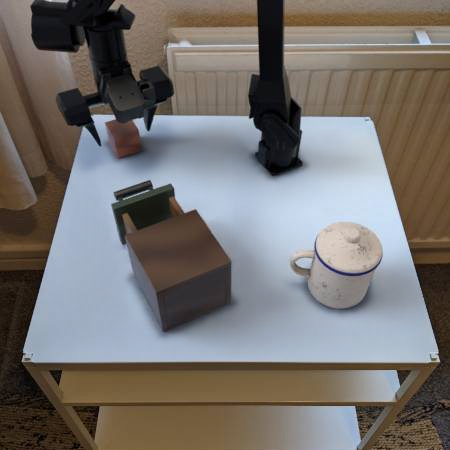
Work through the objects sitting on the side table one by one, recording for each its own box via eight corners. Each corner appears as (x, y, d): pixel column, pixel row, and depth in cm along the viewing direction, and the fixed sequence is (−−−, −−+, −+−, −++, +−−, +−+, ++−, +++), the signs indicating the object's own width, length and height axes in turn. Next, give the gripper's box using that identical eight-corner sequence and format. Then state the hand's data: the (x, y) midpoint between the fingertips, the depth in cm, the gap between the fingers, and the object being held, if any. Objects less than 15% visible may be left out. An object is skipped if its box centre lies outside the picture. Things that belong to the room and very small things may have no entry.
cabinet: (134, 278, 75) (124, 235, 67) (198, 253, 78) (195, 208, 70) (163, 332, 70) (155, 292, 62) (230, 303, 72) (231, 261, 65)
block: (132, 136, 94) (128, 115, 90) (142, 150, 91) (138, 129, 88) (109, 143, 92) (104, 122, 89) (118, 158, 90) (113, 137, 86)
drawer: (108, 219, 80) (99, 182, 74) (162, 200, 83) (157, 163, 76) (143, 283, 73) (135, 249, 67) (201, 260, 76) (199, 225, 69)
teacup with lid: (364, 263, 77) (385, 209, 67) (370, 313, 72) (393, 262, 62) (286, 258, 77) (295, 204, 68) (286, 308, 72) (296, 256, 62)
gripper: (65, 97, 71) (89, 181, 83) (185, 63, 76) (190, 148, 89) (42, 58, 76) (68, 142, 89) (156, 29, 81) (164, 113, 94)
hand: (124, 137), depth 90 cm, fingers open, 9 cm apart
